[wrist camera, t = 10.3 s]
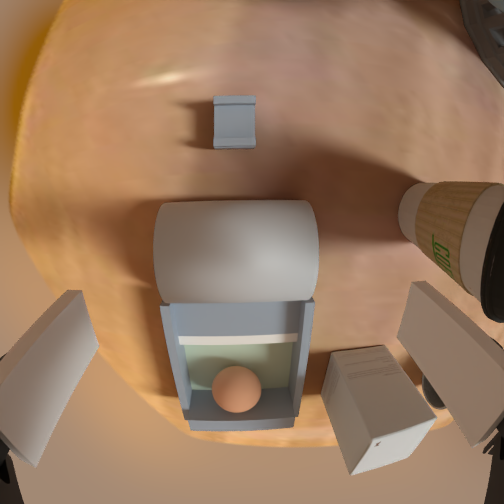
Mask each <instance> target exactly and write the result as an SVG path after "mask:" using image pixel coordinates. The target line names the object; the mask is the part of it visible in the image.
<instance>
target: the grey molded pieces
mask: <svg viewBox="0 0 504 504" xmlns="http://www.w3.org/2000/svg"><path fill="white" fill-rule="evenodd" d="M213 104H214V138H213V146H214V148H215V149H216V150H218V149H254V148H255V146H256V138H255V104H256V96H214V103H213ZM153 261H154V271H155V278H156V283H157V287H158V291H159V293H160V296H161V298H162V302H161V304H160V311H161V317H162V323H163V328H164V333H165V339H166V344H167V349H168V353H169V358H170V363H171V367H172V372H173V376H174V380H175V384H176V388H177V392H178V396H179V400H180V404H181V407H182V411H183V415H184V418H185V420H188V422H189V426H190V429H191V430H193V431H252V430H268V429H280V428H290V427H293V426H294V421H295V417H298V415H299V409H300V404H301V398H302V392H303V386H304V380H305V374H306V368H307V361H308V354H309V347H310V340H311V332H312V324H313V315H314V307H315V302H314V300H313V298H312V295H313V293H314V290H315V287H316V282H317V277H318V268H319V239H318V230H317V224H316V219H315V215H314V212H313V209H312V207H311V205H310V203H309V202H308V201H306V200H224V201H192V202H170V203H163V204H162V205H161V207H160V209H159V211H158V214H157V218H156V222H155V228H154V239H153ZM231 366H242V367H245V368H248V369H249V370H251V371H252V372H254V373H255V374H256V376H257V377H258V379H259V381H260V383H261V396H260V399H259V400H258V402H257V403H256V405H255V406H254V407H252V408H251V409H249V410H247V411H245V412H240V413H234V412H229V411H227V410H224V409H223V408H221V407H220V406H219V405H218V404H217V403H216V401H215V400H214V397H213V394H212V383H213V380H214V378H215V377H216V375H217V374H218V373H219V372H220V371H222V370H223V369H225V368H228V367H231Z"/></svg>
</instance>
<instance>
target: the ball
mask: <svg viewBox="0 0 504 504" xmlns="http://www.w3.org/2000/svg"><path fill="white" fill-rule="evenodd" d="M212 394H213V397H214V400H215V401H216V403H217V404H218V405H219V406H220V407H221V408H223V409H224V410H227V411H229V412H234V413H240V412H245V411H247V410H249V409H251V408H252V407H254V406H255V405H256V403H257V402H258V400H259V399H260V396H261V383H260V381H259V379H258V377H257V376H256V374H255V373H254V372H252V371H251V370H249V369H248V368H245V367H242V366H231V367H228V368H225V369H223V370H222V371H220V372H219V373H218V374H217V375H216V377H215V378H214V380H213V383H212Z"/></svg>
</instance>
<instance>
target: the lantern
mask: <svg viewBox="0 0 504 504" xmlns="http://www.w3.org/2000/svg"><path fill="white" fill-rule="evenodd" d="M459 2H460V6H461V11H462V16H463V22H464V26H465V28H466V30H467V32H468V33H469V35H470V37H471V39H472V41H473V43H474V45H475V47H476V49H477V51H478V53H479V55H480V57H481V59H482V61H483V62H484V64H485V65H486V66H487V67H488V68H489V70H490V71H491V72H492V74H493V75H494V76H495V77H496V79H497V80H498V81H499V83H500V84H501V85H502V87H503V88H504V12H502V11H500V10H499V9H497V8H496V7H495V6H493V5H492V4H491V3H490V2H489V1H488V0H459Z"/></svg>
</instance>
